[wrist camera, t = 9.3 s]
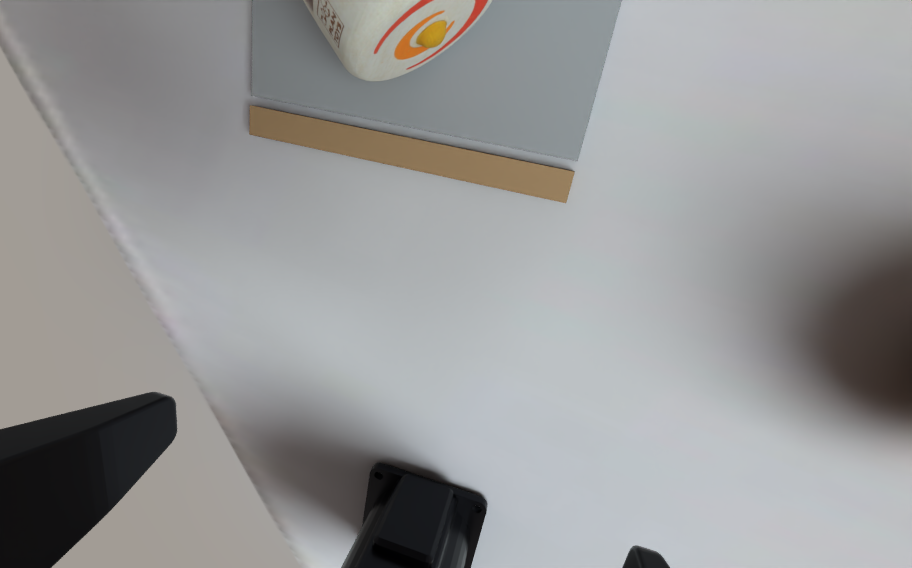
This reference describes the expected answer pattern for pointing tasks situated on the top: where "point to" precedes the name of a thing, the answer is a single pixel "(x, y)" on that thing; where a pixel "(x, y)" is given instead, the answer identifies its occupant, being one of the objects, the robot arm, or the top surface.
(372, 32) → the roller toy
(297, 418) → the top surface
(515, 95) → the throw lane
